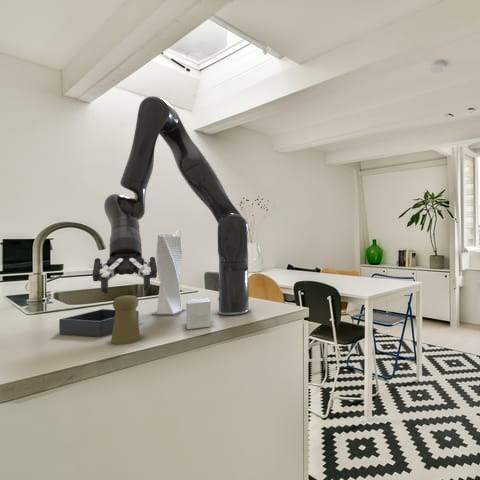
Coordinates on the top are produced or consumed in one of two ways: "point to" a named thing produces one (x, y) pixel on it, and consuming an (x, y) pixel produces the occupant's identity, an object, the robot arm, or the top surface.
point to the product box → (198, 313)
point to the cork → (125, 320)
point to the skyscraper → (169, 273)
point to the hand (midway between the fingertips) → (126, 290)
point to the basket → (89, 323)
